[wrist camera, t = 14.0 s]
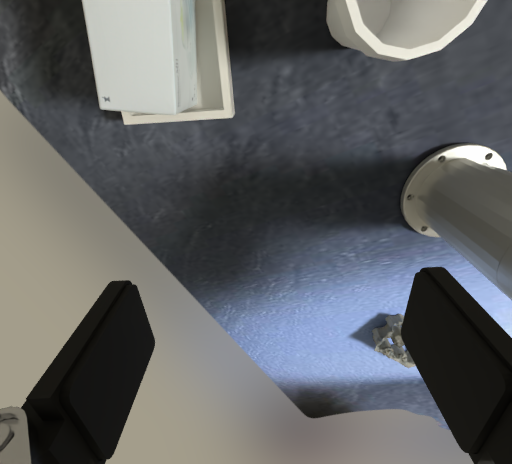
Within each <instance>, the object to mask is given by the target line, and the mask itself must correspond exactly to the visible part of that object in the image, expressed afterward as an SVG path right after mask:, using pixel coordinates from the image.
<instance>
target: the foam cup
mask: <svg viewBox="0 0 512 464" xmlns="http://www.w3.org/2000/svg"><path fill="white" fill-rule="evenodd" d="M486 1H487V0H328V3H327V17H326V22H327V24H328V27H329V30H330V33H331V36H332V37H333V38H334V39H335V40H336V41H338V42H339V43H340V44H341V45H342V46H345V47H349V48H352V49H356V50H359V51H362V52H363V53H364V54H365V55H366V56H370V57H375V58H380V59H384V60H389V61H403V60H409V59H413V58H416V57H419V56H422V55H426V54H429V53H432V52H435V51H439V50H441V49H442V48H443V47H445V46H446V45H447V44H448V43H450V42H451V41H452V40H453V39H454V38H456V37H457V36H458V35H459V34H461V33H462V32H463V31H464V30H465V29H467V28H468V27H469V26H470V25H472V23H473V22H474V20H475V19H476V17H477V16H478V14H479V12H480V11H481V9H482V8H483V6H484V5H485V3H486Z"/></svg>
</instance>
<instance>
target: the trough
mask: <svg viewBox="0 0 512 464" xmlns="http://www.w3.org/2000/svg"><path fill="white" fill-rule="evenodd" d="M195 8H196V61H197V104H196V105H194V106H192V107H190V108H188V109H186V110H184V111H182V112H180V113H178V114H176V115H159V114H148V113H136V112H123V111H121V113H122V117H123V120H124V124H125V125H128V124H143V123H159V122H174V121H190V120H205V119H220V118H232V117H233V116H234V114H235V110H234V99H233V88H232V77H231V66H230V55H229V44H228V33H227V22H226V11H225V0H195Z"/></svg>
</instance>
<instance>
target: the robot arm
mask: <svg viewBox="0 0 512 464" xmlns="http://www.w3.org/2000/svg"><path fill="white" fill-rule="evenodd" d="M400 206H401V211H402V214H403V216H404V219H405V220H406V221H407V223H408V224H409V225H410V226H411V227H412V228H413V229H414V230H416V231H417V232H419V233H421V234H423V235H426V236H431V237H441V238H443V239H444V240H445V241H446V242H447V243H448V244H449V245H450V246H452V247H453V248H454V249H455V250H456V251H457V252H458V253H459V254H460V255H462V256H463V257H464V258H465V259H466V260H467V261H468V262H469V263H470V264H472V265H473V266H474V267H475V268H476V269H477V270H478V271H479V272H481V273H482V274H483V275H484V276H485V277H486V278H487V279H488V280H489V281H491V282H492V283H493V284H494V285H495V286H496V287H497V288H498V289H499V290H501V291H502V292H503V293H504V294H505V295H506V296H507V297H509V298H510V299H511V300H512V172H509V171H507V168H506V164H505V162H504V161H503V159H502V157H501V156H500V155H499V154H498V153H497V152H496V151H494V150H492V149H490V148H488V147H486V146H482V145H479V144H473V143H461V144H455V145H451V146H448V147H445V148H443V149H440V150H438V151H436V152H435V153H433V154H431V155H430V156H428V157H427V158H426V159H425V160H423V161H422V162H421V163H420V164H419V165H418V166H417V167H416V168H415V169H414V170H413V171H412V173H411V174H410V176H409V177H408V179H407V181H406V183H405V185H404V187H403V190H402V194H401V205H400ZM401 338H402V340H403V343H404V344H405V346H406V348H407V350H408V352H409V354H410V356H411V357H412V359H413V361H414V363H415V365H416V367H417V369H418V371H419V372H420V374H421V376H422V378H423V380H424V382H425V384H426V385H427V387H428V389H429V391H430V393H431V395H432V397H433V398H434V400H435V402H436V404H437V406H438V408H439V410H440V411H441V413H442V415H443V417H444V419H445V421H446V423H447V425H448V426H449V428H450V430H451V432H452V434H453V436H454V438H455V439H456V441H457V443H458V445H459V446H460V448H461V449H462V450H463V451H464V452H465V453H469V455H470V457H471V459H472V461H473V462H474V464H512V338H511V337H510V336H509V335H508V334H507V333H506V332H505V331H504V330H503V329H502V328H501V327H500V326H499V324H498V323H497V322H496V321H495V320H494V319H493V318H492V317H491V316H490V315H489V314H488V313H487V312H486V311H485V310H484V309H483V308H482V307H481V306H480V305H479V304H478V302H477V301H476V300H475V299H474V298H473V297H472V296H471V295H470V294H469V293H468V292H467V291H466V290H465V289H464V288H463V287H462V286H461V285H460V284H459V283H458V282H457V281H456V279H455V278H454V277H453V276H452V275H451V274H450V273H449V272H448V271H447V270H446V269H445V268H443V267H427V268H422V269H421V270H420V272H418V273H416V274H415V277H414V281H413V285H412V288H411V292H410V296H409V300H408V304H407V308H406V312H405V315H404V319H403V323H402V327H401ZM154 346H155V339H154V336H153V333H152V330H151V327H150V324H149V321H148V318H147V315H146V312H145V309H144V306H143V303H142V300H141V297H140V294H139V291H138V288H137V286H136V285H132V283H131V282H130V281H112V282H110V283H109V284H108V285H107V287H106V288H105V290H104V291H103V292H102V294H101V295H100V296H99V298H98V299H97V301H96V302H95V303H94V305H93V306H92V308H91V309H90V310H89V312H88V313H87V315H86V316H85V317H84V319H83V320H82V322H81V323H80V324H79V326H78V327H77V329H76V330H75V331H74V333H73V334H72V335H71V337H70V338H69V340H68V341H67V342H66V344H65V345H64V346H63V348H62V350H61V351H60V352H59V353H58V355H57V356H56V358H55V359H54V360H53V362H52V363H51V365H50V366H49V367H48V369H47V370H46V372H45V373H44V374H43V376H42V377H41V378H40V380H39V381H38V383H37V384H36V386H35V387H34V388H33V390H32V391H31V392H30V394H29V395H28V397H27V398H26V402H25V403H24V404H23V406H22V407H21V408H19V407H7V408H2V409H0V464H105V462H106V459H110V458H111V457H112V455H113V454H114V451H115V449H116V446H117V444H118V441H119V438H120V436H121V433H122V431H123V428H124V425H125V423H126V420H127V418H128V415H129V413H130V410H131V407H132V405H133V402H134V400H135V397H136V394H137V392H138V389H139V387H140V383H141V381H142V379H143V376H144V374H145V371H146V368H147V365H148V363H149V360H150V358H151V355H152V352H153V350H154Z"/></svg>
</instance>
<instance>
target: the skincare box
mask: <svg viewBox="0 0 512 464" xmlns="http://www.w3.org/2000/svg"><path fill="white" fill-rule="evenodd" d="M82 5H83V11H84V16H85V22H86V28H87V33H88V39H89V45H90V51H91V57H92V64H93V70H94V76H95V82H96V88H97V94H98V101H99V107H100V109H102V110H112V111H123V112H136V113H148V114H159V115H176V114H178V113H180V112H182V111H184V110H186V109H188V108H190V107H192V106H194V105H196V104H197V61H196V8H195V0H82Z"/></svg>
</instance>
